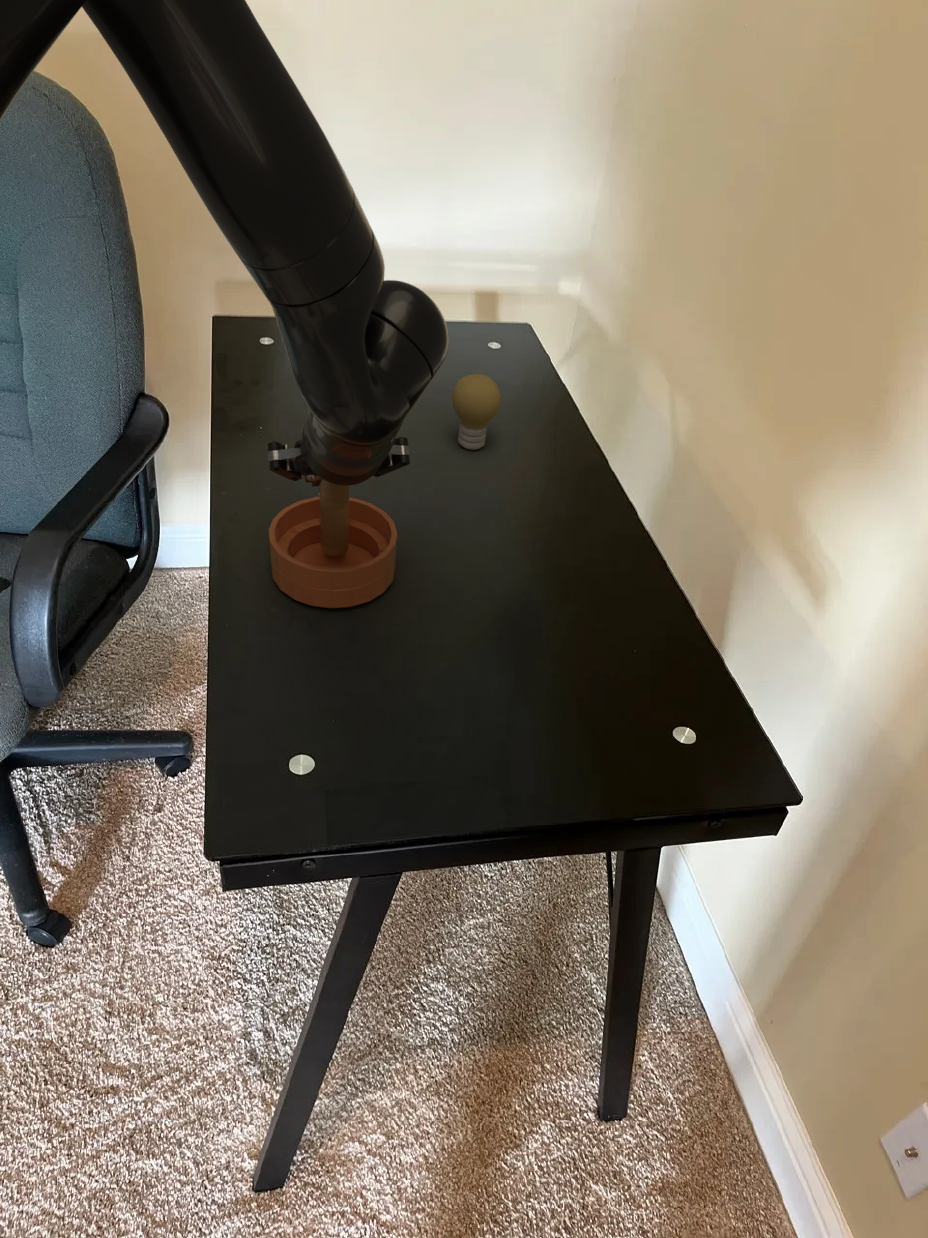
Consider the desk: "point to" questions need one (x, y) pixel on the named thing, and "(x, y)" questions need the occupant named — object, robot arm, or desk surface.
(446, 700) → the desk surface
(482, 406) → the light bulb
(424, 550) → the desk surface
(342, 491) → the stick
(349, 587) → the bowl
